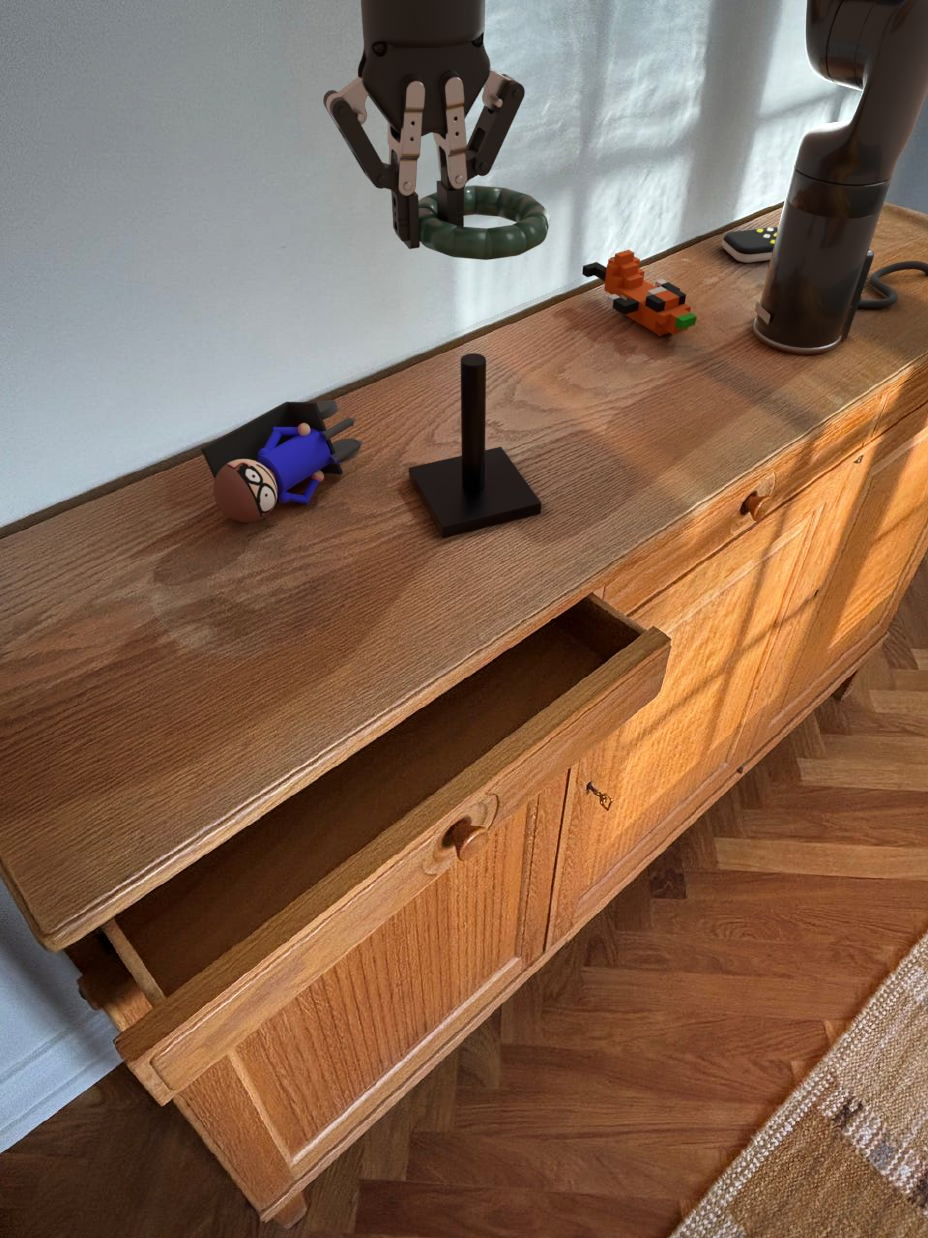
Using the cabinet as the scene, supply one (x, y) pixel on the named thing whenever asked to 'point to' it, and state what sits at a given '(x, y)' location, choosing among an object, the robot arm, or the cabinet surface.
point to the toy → (642, 295)
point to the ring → (485, 240)
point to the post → (473, 470)
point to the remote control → (751, 244)
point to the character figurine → (276, 458)
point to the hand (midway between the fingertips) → (429, 240)
